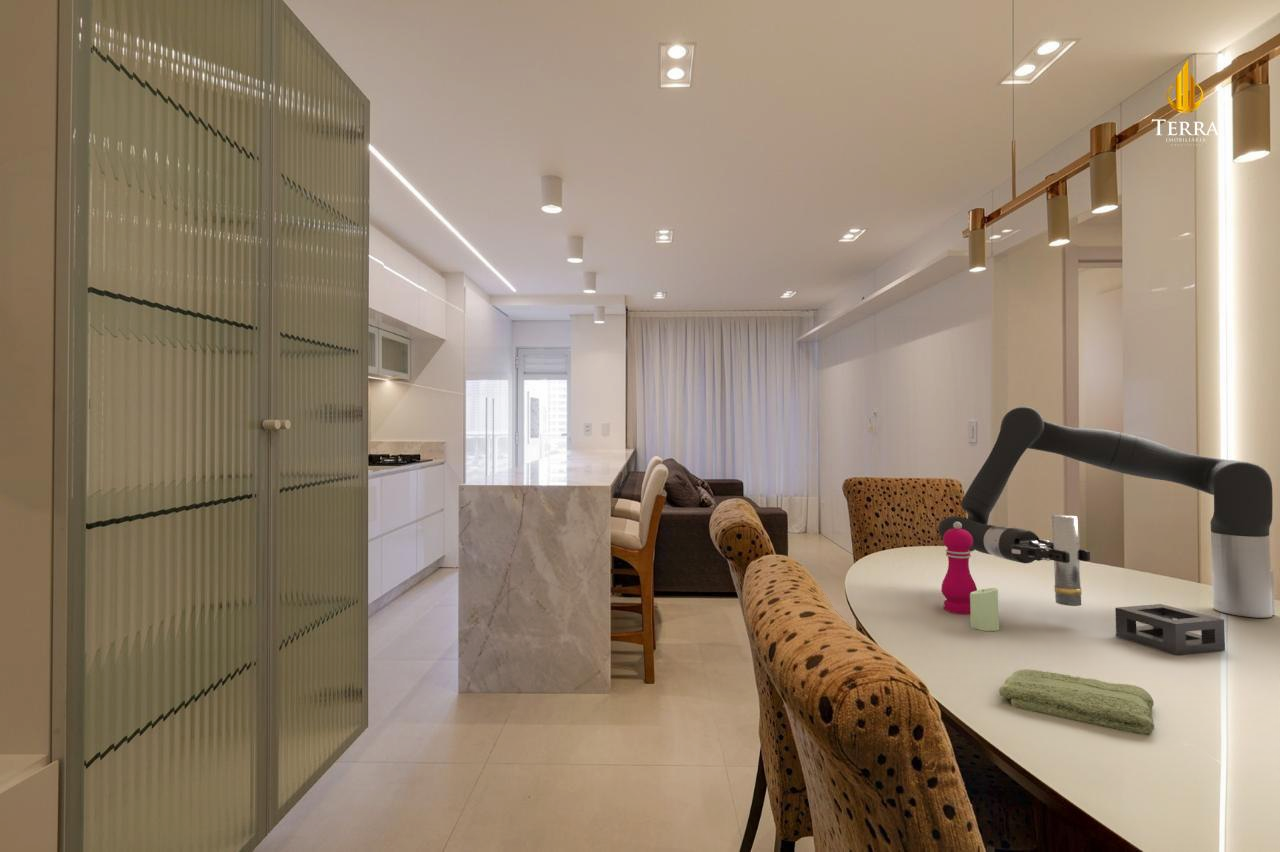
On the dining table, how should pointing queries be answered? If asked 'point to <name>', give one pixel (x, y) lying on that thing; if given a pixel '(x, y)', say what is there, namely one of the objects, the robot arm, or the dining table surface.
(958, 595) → the pepper mill
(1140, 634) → the collar stand
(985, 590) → the candle
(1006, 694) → the washcloth
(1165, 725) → the dining table surface
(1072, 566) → the metal can
